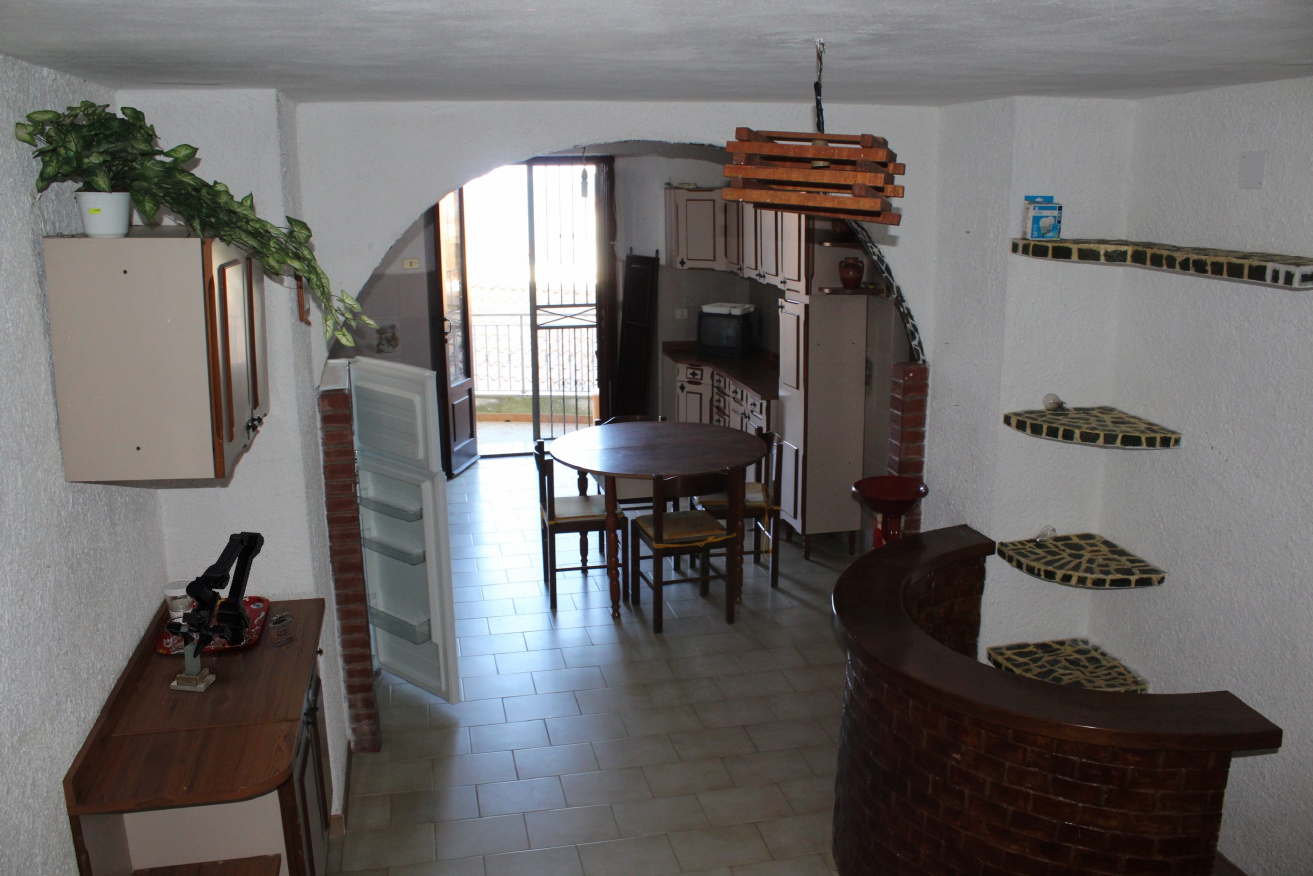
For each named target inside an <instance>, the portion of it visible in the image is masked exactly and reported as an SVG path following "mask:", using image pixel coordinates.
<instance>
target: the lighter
mask: <svg viewBox="0 0 1313 876" xmlns="http://www.w3.org/2000/svg"><path fill="white" fill-rule="evenodd" d="M289 616H290V613H289V612H288V611H286V612H283V613H281V614H279V613H278V614H276V615H275V616H274V617H272V618H271V622H270V623H269V624H268V628H269V641H270V642H269V647H271V648H275V647H278V646H282V645H285V644H287V643H289V642H291V641H292V640H293V635H292V618H291V617H289Z"/></svg>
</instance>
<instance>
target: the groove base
mask: <svg viewBox="0 0 1313 876" xmlns="http://www.w3.org/2000/svg"><path fill="white" fill-rule="evenodd" d="M209 670H210V669H209V668H207V667H204V668H202V670H201V672H200V673H199V674H198V675H197V676H191V675H186V670H185V671H183V672H182V673H181V674H177V675H175V680H174V681H172V682H171V684H170V687H169V688H170V690H176V691H177V690H178V691H188V692H189V691H191V692H199V693H200V692H202V693H204V691H205V690H206V689H207V688H208V687H209V686H210V685H211V684H212V683H213V682H214V681H215V680H216V674H215V673H214V674H212V673H210V671H209Z"/></svg>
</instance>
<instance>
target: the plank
mask: <svg viewBox="0 0 1313 876" xmlns="http://www.w3.org/2000/svg"><path fill="white" fill-rule="evenodd" d="M197 643H198V641H197V642H196V641H194V642H190V643H189V644H188V645H187V646H186V647H185V648H184V647H183V653H184V652H185V657H184V661H185V662H184V663H185V664H184V665H185V671H186V675H191V676H197V675H198V674H199V673H200V672H201V671H202V670H201V669H202V667H201V657H200V654H199V655H198V656H197V657H196V658H193V655H194V651H195V649H196V646H197Z"/></svg>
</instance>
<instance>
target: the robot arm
mask: <svg viewBox="0 0 1313 876" xmlns="http://www.w3.org/2000/svg"><path fill="white" fill-rule="evenodd" d="M264 543H265V537H264V536H263V535H262V533H261V532H256V531H241V532H240V533H232V534H230V535H229V539H228V542H227V543H226V545H225V547H224V548H223V550H222V552H221V553H220V555H219V557H217V560H216V561H215V562H214V563H213V564H212V565H211V564H210V565H209V566H208V567H207V568H205V571H204V572H203V573H202V574H201V576H195V579H194V580H191V581H190V582H189V583H188V584H187V585H186V587H185V593H186V595H187V596H188V597H189V598H190V599H191V600H192V601H193V602H195V603H196V606H195V608H194V607H193V608H192V611H191V612H190V611H189V612H186V611H184V612H182V617H181V618H182V619H181V621H170V620H169V621H168V622H166V624H165V626H164V631H166V632H167V633H169V634H170V635H172V636H176V637H181V639H182V642H183V649H184V648H185V647H186V646H187V645H188V644H189V643H190V642H195V639H196V638H195V637H194V636H193V634H198V641H197V646H196V649H195V651H194V655H193V658H196V657H197V656H198V655H200V654H201V653H202V652H203V651H204V649H206V647H208V646H209V645H210V644H211V643H212V642H215V641H216V639H215V638H216V636H218V637H219V639H220V640H224V639H225V640H226V643H227V644H229V645H231V646H234V645H241V643H242V642H244V637H245V630H247V629H249V628H250V624H251V617H249V616H248V615H247V613H246V612H247V611H246V610H247V609H246V606H245V603H244V597H245V592H246V589H247V585H248V582H249V577H250V573H251V569H252V566H253V563H254V562H253V561H254V559H255V558H256V557H258V555H259V554H260V553H261V551H262V547H264V545H265V544H264ZM234 564H235V568H234V571H233V575H232V580H231V575H230V572H231V570H232V568H233V565H234ZM230 580H231V583H230ZM229 583H230V588H229V590H228V595H227V598H226V599H225V600H222V596H221V593H220V591H221V590H225V589H226V588H227V587H228V586H229ZM215 590H220V591H215ZM219 601H220V603H219ZM218 605H219V607H218V610H217V606H218ZM216 610H217V612H216ZM215 612H216V614H215ZM214 619H215V621H216V623H217V624H213V626H212V627H211V625H212V621H213V620H214ZM184 624H186V625H184ZM183 657H184V658H185V652H184V651H183Z"/></svg>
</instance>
